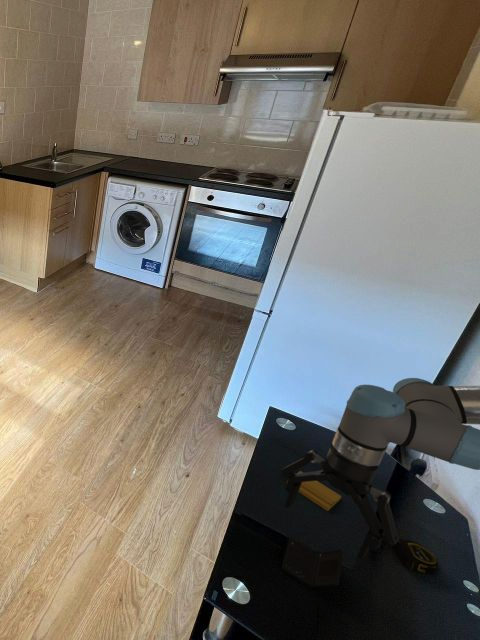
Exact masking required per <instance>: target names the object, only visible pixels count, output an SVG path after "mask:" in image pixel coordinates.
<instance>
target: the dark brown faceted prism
mask: <svg viewBox="0 0 480 640" xmlns="http://www.w3.org/2000/svg"><path fill="white" fill-rule="evenodd" d="M343 557H344V551H343V550H342V549H337V550H336V549H335V550H330V551H321V552H319V551H314V550H313V549H311V548H310V547H308V546H306V545H305V544H302V543H300V542H299V541H297V540H295V539H293V538H292V537H289V539H288V542H287V545H286V550H285V553H284V557H283V560H282V564H281V568H280V571H281V572H283V573H285V574H286V575H288V576H289V577H291V578H293V580H296V581H297V582H299V583H301V584H303V586H306V587H307V588H309V589H311V590H312V591H313V590H314V588H323V587H336V586H339V585H340V578H341V573H342V572H341V571H342V565H343Z"/></svg>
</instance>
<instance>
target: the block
mask: <svg viewBox="0 0 480 640" xmlns="http://www.w3.org/2000/svg"><path fill="white" fill-rule="evenodd" d="M298 473H304V471H302V470H299V471H298V472H296V474H298ZM287 482H288V480H287V481H286V483H285V485H287ZM298 494H300V495H302V496H303V497H305V498H307V499H308V500H309V501H311V502H312V503H314V504H315V505H317V506H319V507H320V508H322V509H323V510H325V511H326V512H329V511H330V510H331V509H332V508H333V507H334V506H336V504H337V503H339V501H341V499H342V497H343V496H342V495H341V494H339V493H337V492H336V491H334V490H332V489H331V488H329V487H328V486H326V485H324V484H323V483H321V482H320V481H319V480H317V481H308V482H302V483H301V486H300V489H299V491H298Z"/></svg>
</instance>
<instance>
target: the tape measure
mask: <svg viewBox="0 0 480 640" xmlns="http://www.w3.org/2000/svg"><path fill="white" fill-rule="evenodd" d="M391 547H392V549H394V551H395V553H396V554H397V556H399V558H400V560H401V562H402V563H403V564H404V566H405V567H406V568H407V569H408V570H409V571H414V572H415V571H416V572H419V573H421V574H425V575H432V574H434V573H435V572H437V570H438V569H439V561H438V558H437V557H436V556H435V555H434V554H433V553H432V552H431V551H430V550H429V549H428V548H426V547H425V546H424V545H422V544H420V543H419V542H415V541H414V540H410V539H401V538H399V540H398V541H397V542H396V544H395V545H394V546H391Z"/></svg>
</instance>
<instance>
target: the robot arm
mask: <svg viewBox="0 0 480 640" xmlns="http://www.w3.org/2000/svg"><path fill="white" fill-rule="evenodd" d="M472 425H479V426H480V385H435V383H432V382H431V381H428V380H426V379H423V378H419V377H406V378H403V379H401V380H399V381H396V383H395V384H394V386H393V387H392V391H391V390H387V389H385V388H384V387H382V386H378V385H373V384H360V385H357V386H355V387H354V389H353V390H352V392H351V394H350V396H349V398H348V400H346V406H345V409H344V411H343V414H342V416H341V420H340V422H339V425H338V427H337V429H336V431H335V434H334V436H333V439H332V443H331V444H330V446H329V449H328V451H327V454H326V457H325V458H323V457H322V456H321V455H319V454H318V451H317V450H316V449H311V450H309V451H308V452H307V453H305V455H304V457H302V458H300V459H297V460H296V461H294V462H291V463H290V464H288V465H286V466H285V467H283V468H282V469H280V470H279V472H280V474H281V475H282V476H285V478H286V479H287V481H288V482H287V481H286V483H287V484H285V487H284V490H285V492H287V493H288V496H287V498H286V501H285V504H284V507H286V508H287V509H289V508H290V507H291V506H293V505H294V504H295V502H296V499H297V497H298V494H299V492H298V491H299V489H300V486H301V483H302V482H308V481H318V482H323V481H327V482H328V483H329V485H330V486H332V487H333V488H336V489H338V490H339V491H340V492H341V493H343V494H345V495H346V496H350V497H351V499H352V501H353V502H354V504H356V506H357V507H358V510H359V511H360V513H361V515H362V517H363V519H364V521H365V523H366V525H367V527H368V528H369V532H368V533H367V535H366V536H365V539H364V541H363V543H362V545H361V547H360V548H359V551H358V554H357V556H356V557H357V558H358V559H359V560H361V561H362V560H363V559H364V558H365V557H366V556H367V554H368V553H369V550H373V551H374V552H375V551H377V550H378V549H379V548H380V547H381V545H382V542H386V543H387V544H388V545H389V546H391V547H392V546H394V545H395V544H396V542H397V541H398V540H399V539H400V537H399V534H398V530H397V526H396V522H395V518H394V515H393V511H392V508H391V503H390V502H391V498H392V495H391V493H390V492H389V491H387V490H384V491H381V490H379V489H378V488H375V487H373V480H374V478H375V475H376V473H377V471H378V468H379V465H380V464H381V462H382V460H383V457H384V456H385V453H386V451H387V449H388V446H389V444H391V443H392V444H395V445H398V446H400V447H403V448H407V449H409V450H413V451H415V452H418V453H421V454H424V455H427V456H430V457H433V458H435V459H438V460H441V461H444V462H447V463H449V464H452V465H457V466H461V467H464V468H467V469H471V470H474V471H480V428H477V427H473V426H472ZM317 463H318V464H320V467H321V470H315V471H306V472H303V473H298V472H295V471H297V470H299V469H301V468H303V467H306V466H307V465H309V464H317ZM297 473H298V474H297ZM368 494H371V495H372V497H373V501H374V502H376V508H377V512H378V515H377V513H376V512H375V510H374V508H373V506H372V504H371V502H370V500H369V496H368ZM378 516H379V518H378Z"/></svg>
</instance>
